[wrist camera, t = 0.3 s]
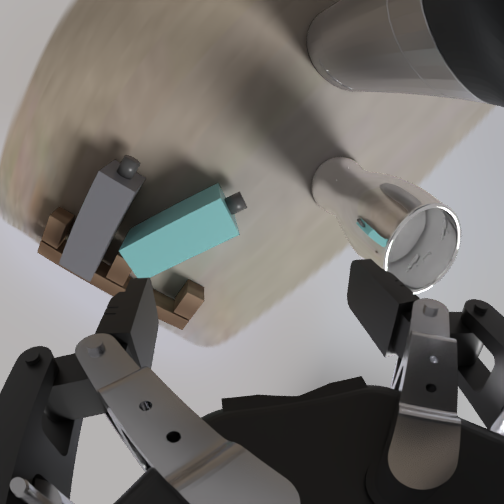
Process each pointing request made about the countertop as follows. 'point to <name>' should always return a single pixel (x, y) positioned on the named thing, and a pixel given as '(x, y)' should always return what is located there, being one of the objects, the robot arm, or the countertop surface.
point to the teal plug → (182, 231)
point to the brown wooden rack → (120, 274)
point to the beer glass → (390, 221)
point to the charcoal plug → (101, 216)
